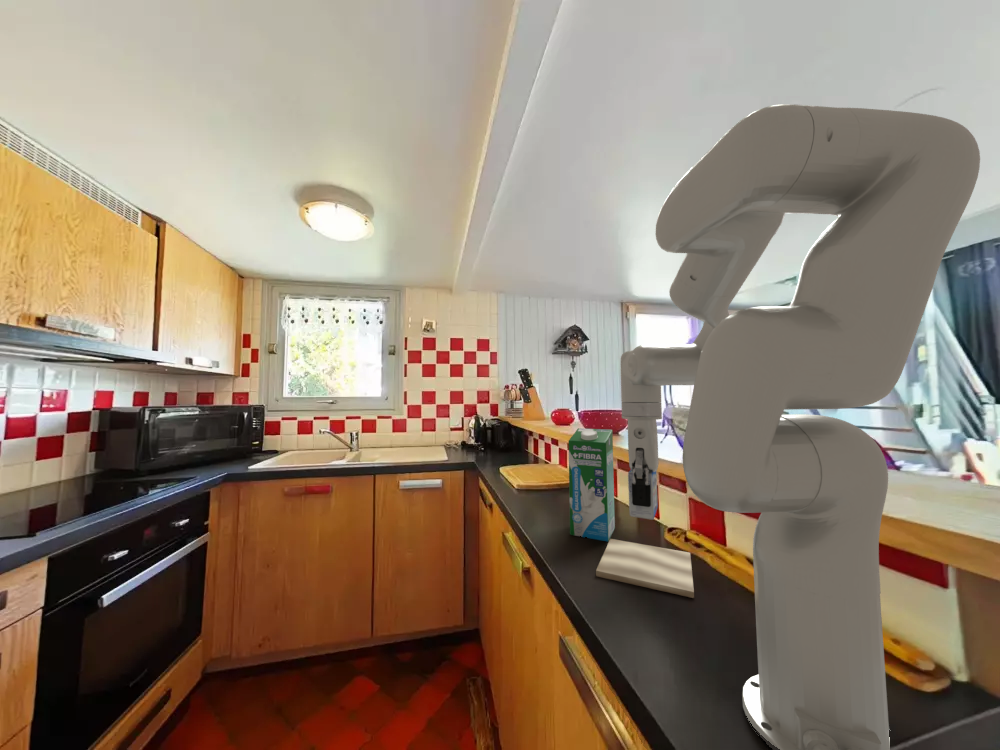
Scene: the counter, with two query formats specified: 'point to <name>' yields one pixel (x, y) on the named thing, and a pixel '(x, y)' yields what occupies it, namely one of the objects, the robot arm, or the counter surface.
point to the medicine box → (651, 511)
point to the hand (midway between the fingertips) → (643, 498)
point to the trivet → (647, 567)
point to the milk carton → (591, 484)
